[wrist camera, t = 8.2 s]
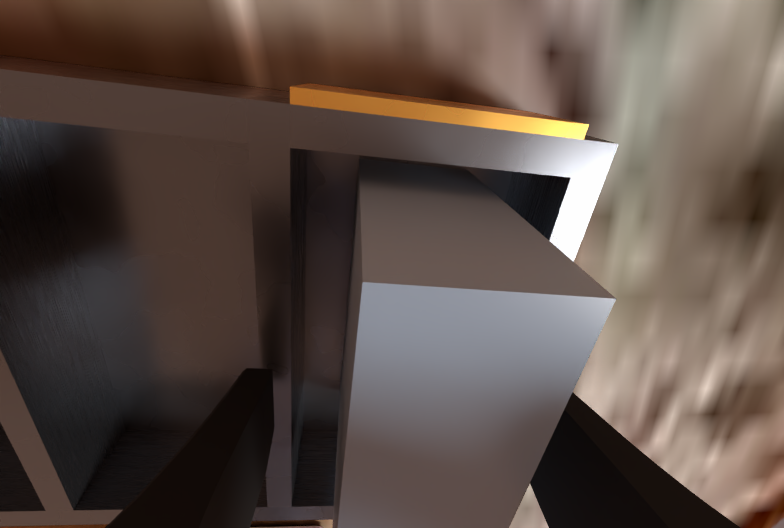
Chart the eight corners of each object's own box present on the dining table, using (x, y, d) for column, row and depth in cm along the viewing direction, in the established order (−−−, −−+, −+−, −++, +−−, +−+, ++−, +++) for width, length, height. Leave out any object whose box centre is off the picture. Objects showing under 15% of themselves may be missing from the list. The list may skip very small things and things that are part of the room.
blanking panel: (419, 393, 15) (464, 621, 9) (339, 391, 14) (327, 630, 8) (467, 170, 11) (615, 298, 5) (359, 158, 10) (362, 282, 4)
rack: (453, 429, 17) (476, 516, 14) (-68, 424, 14) (-196, 530, 11) (542, 112, 11) (624, 128, 8) (-338, -2, 8) (-814, -55, 5)
